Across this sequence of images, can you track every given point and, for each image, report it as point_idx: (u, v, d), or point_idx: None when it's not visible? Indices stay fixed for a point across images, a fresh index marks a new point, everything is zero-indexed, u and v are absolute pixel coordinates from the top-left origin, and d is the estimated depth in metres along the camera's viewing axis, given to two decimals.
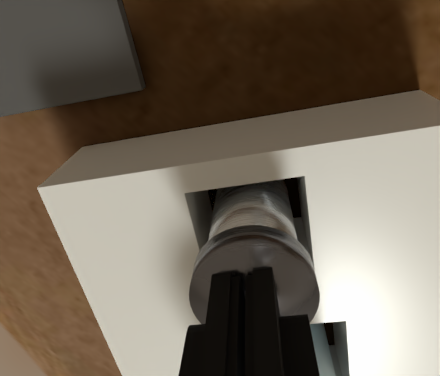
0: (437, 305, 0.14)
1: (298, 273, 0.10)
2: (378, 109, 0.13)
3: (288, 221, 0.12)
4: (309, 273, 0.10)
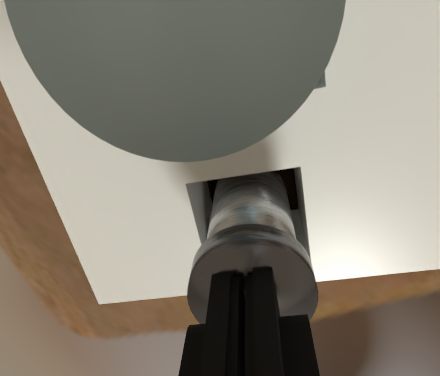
0: None
1: None
2: None
3: None
4: None
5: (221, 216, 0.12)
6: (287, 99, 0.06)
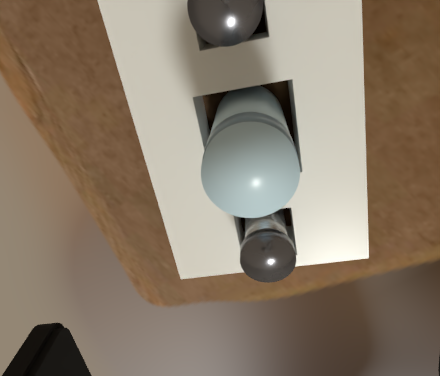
0: (351, 61, 0.21)
1: None
2: None
3: None
4: None
5: (252, 225, 0.26)
6: (283, 200, 0.19)
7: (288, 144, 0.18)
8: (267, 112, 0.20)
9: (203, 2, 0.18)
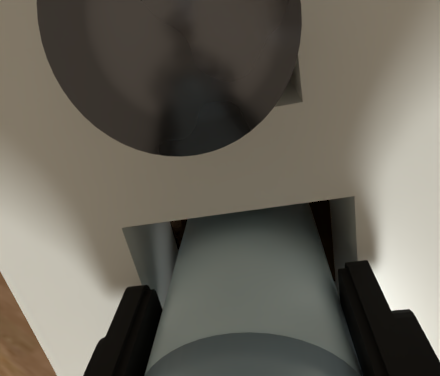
0: None
1: None
2: None
3: None
4: None
5: None
6: None
7: None
8: (301, 315, 0.07)
9: (91, 18, 0.05)
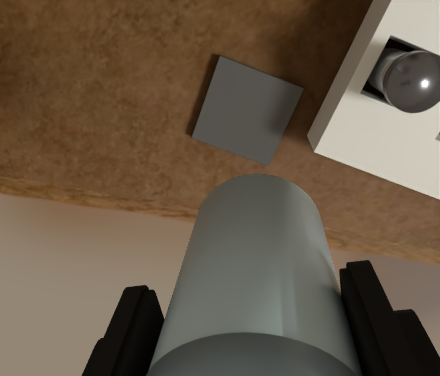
0: None
1: (420, 58, 0.22)
2: None
3: (403, 53, 0.25)
4: (423, 53, 0.22)
5: None
6: None
7: None
8: (301, 316, 0.08)
9: (404, 97, 0.23)
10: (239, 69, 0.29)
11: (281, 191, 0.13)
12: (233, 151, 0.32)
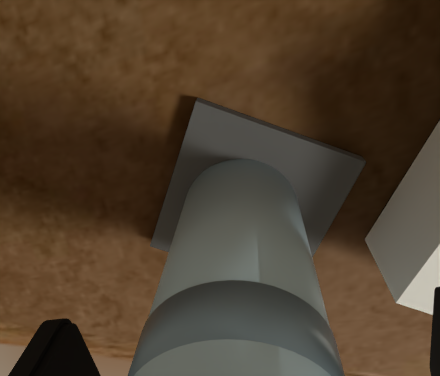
0: None
1: None
2: None
3: None
4: None
5: None
6: None
7: None
8: (274, 269, 0.09)
9: None
10: (237, 127, 0.14)
11: (261, 173, 0.14)
12: None
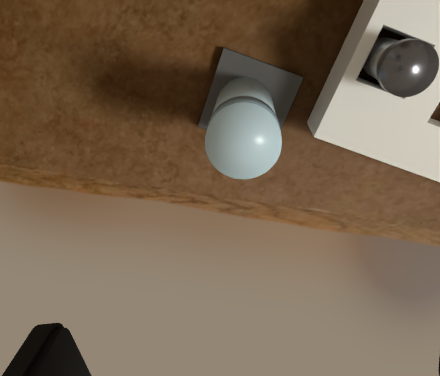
0: None
1: (410, 45, 0.24)
2: None
3: (395, 41, 0.26)
4: (413, 41, 0.24)
5: None
6: (269, 164, 0.24)
7: (272, 119, 0.23)
8: (257, 96, 0.26)
9: (396, 82, 0.25)
10: (242, 60, 0.31)
11: (253, 80, 0.31)
12: None
